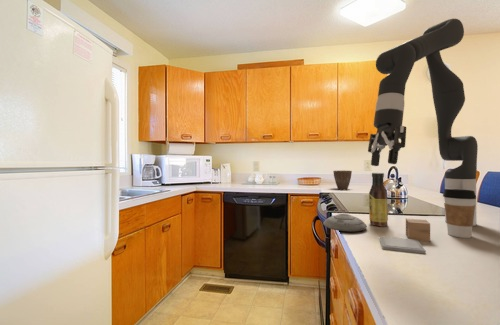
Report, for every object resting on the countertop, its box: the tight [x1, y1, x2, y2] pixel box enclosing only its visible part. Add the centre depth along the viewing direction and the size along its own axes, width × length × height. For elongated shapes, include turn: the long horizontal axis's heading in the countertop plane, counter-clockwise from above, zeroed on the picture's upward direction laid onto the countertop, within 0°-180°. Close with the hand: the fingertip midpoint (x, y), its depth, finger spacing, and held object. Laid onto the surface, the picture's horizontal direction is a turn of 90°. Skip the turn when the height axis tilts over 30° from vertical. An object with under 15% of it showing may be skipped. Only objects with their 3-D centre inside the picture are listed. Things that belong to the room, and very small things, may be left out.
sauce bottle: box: [368, 172, 389, 227], centre depth 96 cm, size 7×6×20 cm
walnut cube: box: [405, 218, 431, 242], centre depth 79 cm, size 6×6×6 cm
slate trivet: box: [379, 235, 426, 255], centre depth 72 cm, size 10×10×1 cm
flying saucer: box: [322, 213, 368, 233], centre depth 92 cm, size 15×15×6 cm
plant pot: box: [332, 170, 353, 191], centre depth 214 cm, size 15×15×16 cm
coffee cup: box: [442, 188, 477, 239], centre depth 81 cm, size 8×8×15 cm
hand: (382, 164), depth 74 cm, fingers open, 8 cm apart
